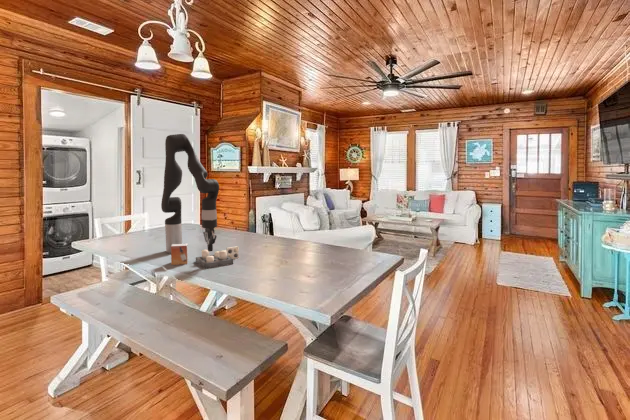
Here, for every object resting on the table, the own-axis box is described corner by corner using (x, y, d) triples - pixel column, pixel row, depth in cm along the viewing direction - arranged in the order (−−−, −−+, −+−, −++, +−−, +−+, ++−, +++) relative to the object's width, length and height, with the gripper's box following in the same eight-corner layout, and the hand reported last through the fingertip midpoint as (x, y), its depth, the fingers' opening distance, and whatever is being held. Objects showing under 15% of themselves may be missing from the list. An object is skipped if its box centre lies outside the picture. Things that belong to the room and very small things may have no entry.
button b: (218, 259, 182) (218, 251, 181) (225, 257, 184) (224, 250, 184) (221, 260, 179) (220, 252, 178) (227, 259, 181) (227, 251, 181)
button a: (205, 264, 178) (205, 256, 177) (212, 263, 180) (212, 255, 180) (208, 266, 175) (207, 258, 174) (215, 265, 177) (215, 256, 177)
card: (225, 259, 191) (224, 247, 190) (236, 257, 195) (236, 245, 195) (227, 260, 189) (227, 248, 188) (239, 258, 193) (238, 246, 192)
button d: (213, 259, 188) (213, 251, 187) (220, 258, 190) (220, 250, 189) (216, 261, 185) (215, 253, 184) (222, 260, 187) (222, 252, 186)
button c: (200, 258, 183) (200, 250, 183) (207, 257, 186) (207, 249, 185) (203, 259, 180) (202, 251, 180) (210, 258, 182) (210, 250, 182)
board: (195, 262, 184) (195, 257, 184) (222, 258, 193) (222, 253, 193) (205, 269, 172) (205, 263, 172) (233, 264, 181) (233, 259, 181)
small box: (171, 266, 178) (170, 246, 176) (172, 263, 183) (171, 243, 182) (187, 265, 180) (186, 245, 179) (188, 262, 185) (187, 243, 184)
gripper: (197, 217, 178) (198, 249, 180) (206, 220, 167) (207, 255, 170) (211, 215, 182) (212, 247, 184) (221, 219, 172) (222, 252, 174)
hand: (210, 251), depth 177 cm, fingers closed
